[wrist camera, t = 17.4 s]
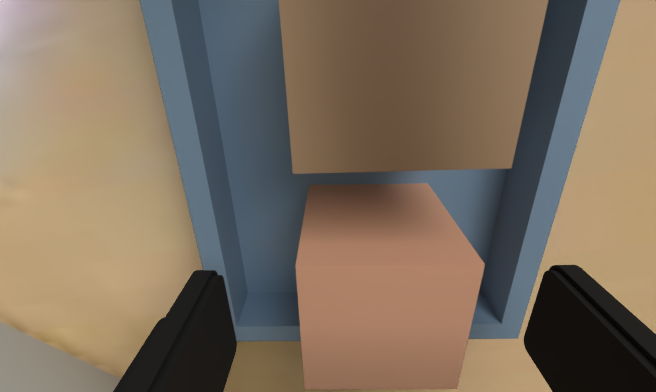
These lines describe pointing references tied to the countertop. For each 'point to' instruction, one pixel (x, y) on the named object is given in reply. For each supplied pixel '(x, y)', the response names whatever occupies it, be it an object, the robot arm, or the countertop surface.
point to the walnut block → (407, 82)
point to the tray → (291, 189)
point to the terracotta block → (383, 288)
